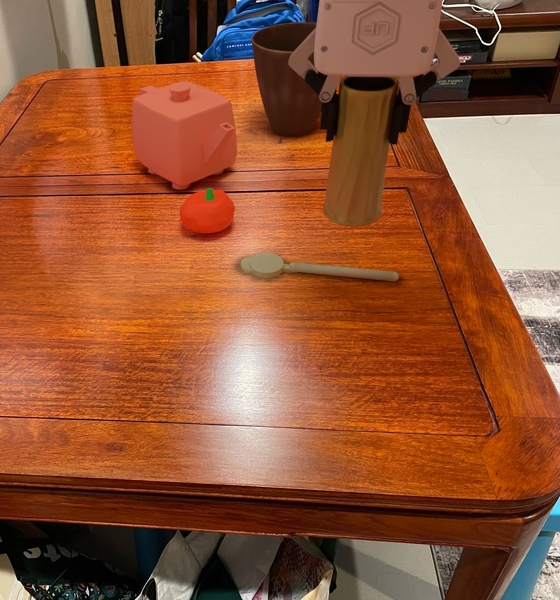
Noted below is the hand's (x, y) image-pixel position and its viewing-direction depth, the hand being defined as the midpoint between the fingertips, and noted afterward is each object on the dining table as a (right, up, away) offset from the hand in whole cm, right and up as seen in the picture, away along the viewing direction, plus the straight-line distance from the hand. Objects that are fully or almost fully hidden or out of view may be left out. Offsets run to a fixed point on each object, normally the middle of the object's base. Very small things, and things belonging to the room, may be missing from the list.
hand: (361, 135), depth 61 cm
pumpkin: (-13, -6, +27) cm, 31 cm away
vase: (+1, -7, +6) cm, 9 cm away
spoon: (0, -13, +17) cm, 21 cm away
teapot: (-16, +5, +41) cm, 44 cm away
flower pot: (+4, +14, +50) cm, 52 cm away
